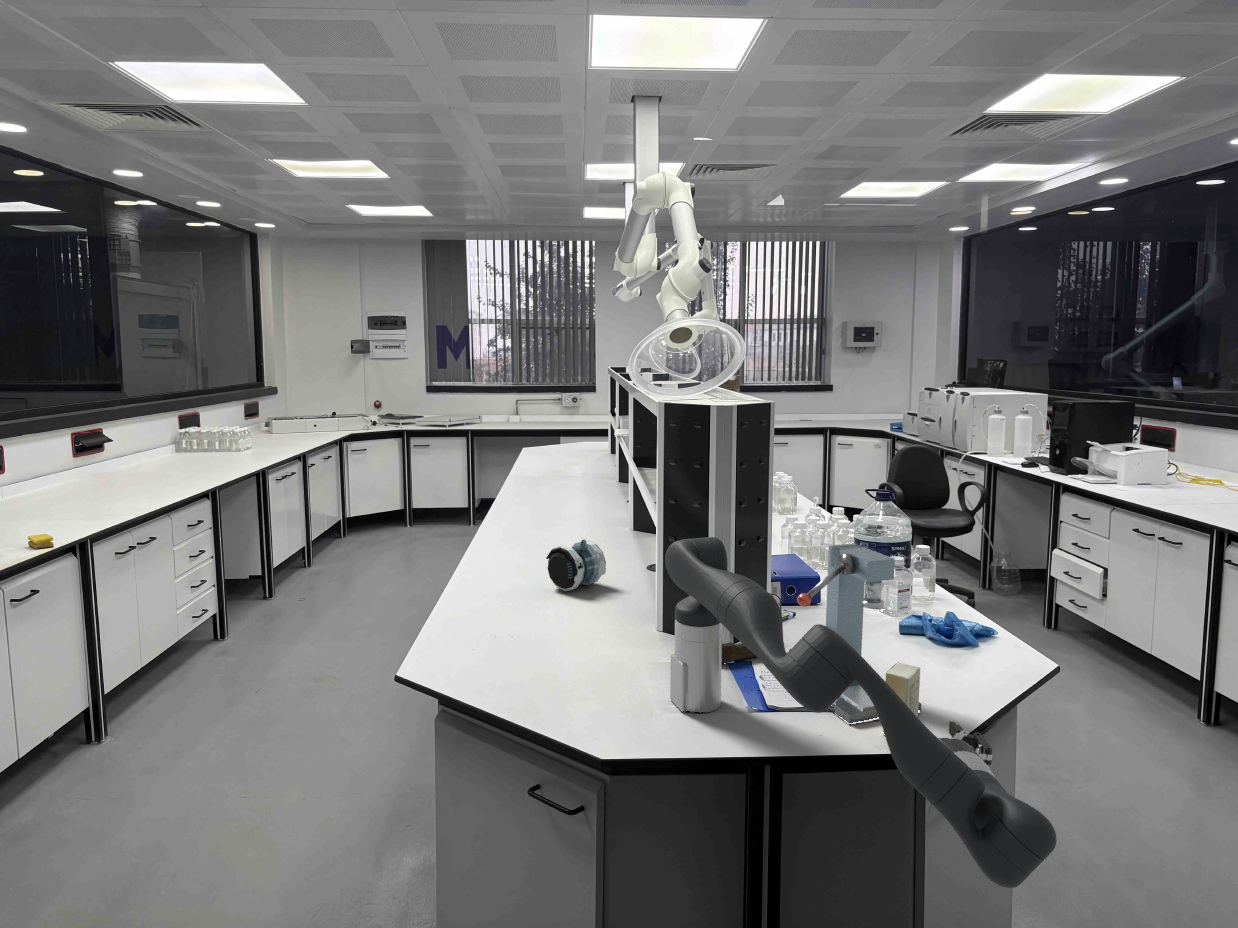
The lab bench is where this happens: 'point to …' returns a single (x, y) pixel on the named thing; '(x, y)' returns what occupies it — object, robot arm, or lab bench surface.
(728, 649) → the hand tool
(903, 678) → the skincare box
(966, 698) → the lab bench surface
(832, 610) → the arbor press
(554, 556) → the gadget
